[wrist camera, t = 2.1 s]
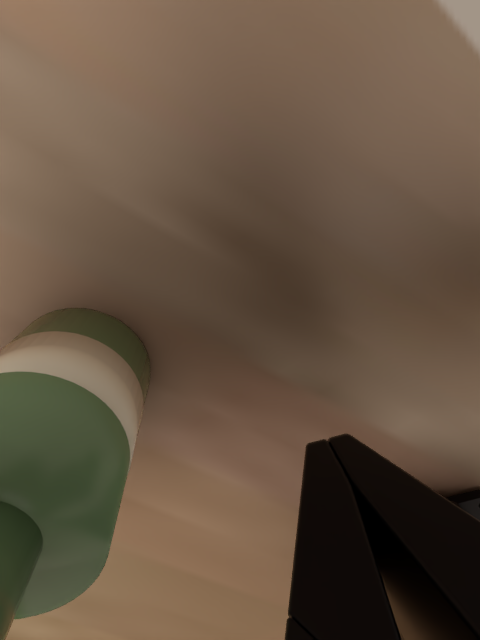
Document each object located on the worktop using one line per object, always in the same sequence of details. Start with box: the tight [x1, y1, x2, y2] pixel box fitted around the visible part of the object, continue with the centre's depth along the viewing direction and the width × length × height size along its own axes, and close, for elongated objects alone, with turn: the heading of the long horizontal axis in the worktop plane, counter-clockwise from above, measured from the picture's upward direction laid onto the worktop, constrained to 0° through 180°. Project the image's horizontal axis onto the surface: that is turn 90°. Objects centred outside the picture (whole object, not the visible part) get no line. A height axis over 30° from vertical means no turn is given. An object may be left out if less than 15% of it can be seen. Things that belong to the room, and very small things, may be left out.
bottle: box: [0, 308, 150, 640], centre depth 9 cm, size 5×5×10 cm
